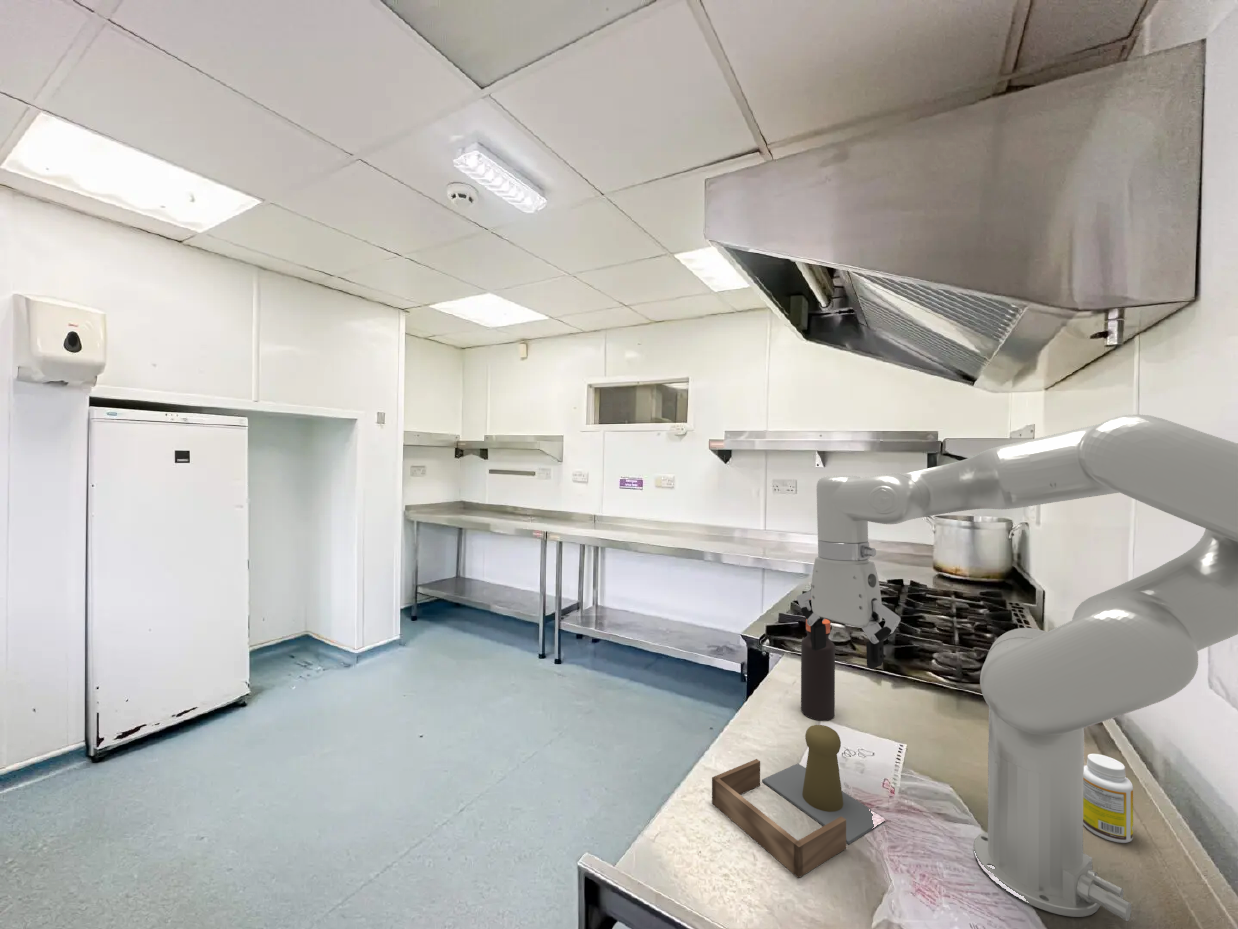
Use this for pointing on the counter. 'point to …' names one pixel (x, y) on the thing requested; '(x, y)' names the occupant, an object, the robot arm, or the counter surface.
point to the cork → (822, 769)
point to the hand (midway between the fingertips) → (845, 657)
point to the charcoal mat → (792, 788)
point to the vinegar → (818, 677)
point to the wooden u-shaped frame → (765, 831)
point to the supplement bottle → (1107, 799)
